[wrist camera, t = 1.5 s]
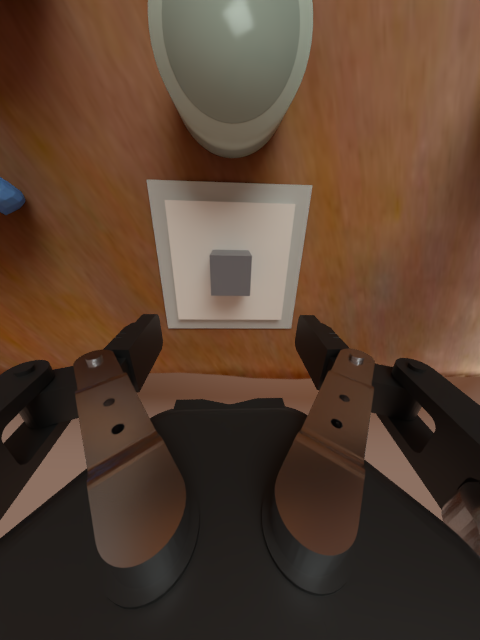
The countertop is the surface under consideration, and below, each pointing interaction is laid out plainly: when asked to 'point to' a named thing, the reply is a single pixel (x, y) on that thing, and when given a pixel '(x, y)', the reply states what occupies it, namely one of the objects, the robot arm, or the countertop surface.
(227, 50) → the bowl
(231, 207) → the lid
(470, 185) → the countertop surface
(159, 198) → the mat
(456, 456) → the robot arm
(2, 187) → the grapes
